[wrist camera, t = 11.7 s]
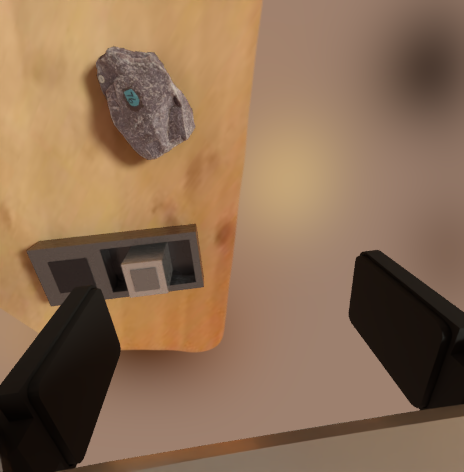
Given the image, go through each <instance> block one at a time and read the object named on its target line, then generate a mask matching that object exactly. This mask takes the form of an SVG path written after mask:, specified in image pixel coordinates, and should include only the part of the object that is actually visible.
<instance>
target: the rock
mask: <svg viewBox="0 0 464 472" xmlns="http://www.w3.org/2000/svg"><path fill="white" fill-rule="evenodd" d="M96 67H97V77H98V80H99V83H100V86H101V90H102V92H103V94H104V95H105V97H106V99H107V101H108V102H107V103H108V107H109V110H110V114H111V118H112V121H113V123H114V125H115V127H116V128H117V129H118V130H119V132H120V133H121V134H122V135H123V136H124V137H125V139H126V140H127V142H128V143H129V144H130V145H131V147H132V148H133V149H134V150H135V151H136V152H137V153H138V154H139V155H140V156H142V157H144V158H145V159H147V160H151V159H156V158H158V157H160V156H162V155H163V154H164V153H166V152H168V151H170V150H171V149H172V148H173V147H175V146H177V145H178V144H180V143H182V142H183V141H186V140H187V139H188V138H189V137H190V135H191V133H192V132H193V130H194V129H195V124H194V119H193V111H192V108H191V107H190V105H189V103H188V101H187V99H186V97H185V96H184V94H183V93H182V91H181V90H179V89H178V88H177V87H176V86H175V84H174V83H173V82H172V80H171V78H170V75H169V74H168V73H167V71H166V69H165V68H164V65H163V63H162V62H161V61H160V60H159V59H158V57H157V56H156V54H155V53H153V52H147V53H145V52H136V51H135V52H133V51H130V50H126V49H124V48H118V47H111V48H108V49H107V51H106V53H105V54H104V55H102V56H101V57H100V58H99V59H98V60H97V62H96Z"/></svg>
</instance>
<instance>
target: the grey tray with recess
mask: <svg viewBox="0 0 464 472" xmlns="http://www.w3.org/2000/svg"><path fill="white" fill-rule="evenodd" d="M162 242H168V247H169V252H170V258H171V263H172V268H173V271H172V276H171V282H170V287H169V291H176V290H184V289H192V288H200V287H204V275H203V268H202V261H201V255H200V248H199V241H198V234H197V227H196V224H190V225H181V226H172V227H163V228H154V229H145V230H136V231H127V232H118V233H109V234H100V235H91V236H82V237H73V238H64V239H55V240H46V241H39V242H38V243H36V244H35V245H34V246H32V247H31V248H29V249H28V250H27V254H28V256H29V258H30V260H31V263H32V265H33V267H34V269H35V271H36V274H37V276H38V278H39V280H40V283H41V285H42V287H43V289H44V292H45V294H46V296H47V298H48V300H49V303H50V305H51V306H58V305H61V304H62V303H63V302H64V300H65V299H66V298H67V297H68V295H69V294H70V293H71V291H72V290H73V289H74V288H75V287H79V286H88V285H94V286H95V287H96V288H100V289H101V291H102V293H103V296H104V299H113V298H121V297H129V296H130V295H129V291H128V288H127V284H126V281H125V277H124V274H123V270H122V267H121V264H122V262H123V260H124V259H125V257H126V255H127V253H128V251H129V250H130V248H131V246H135V245H144V244H153V243H162Z"/></svg>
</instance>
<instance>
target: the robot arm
mask: <svg viewBox="0 0 464 472" xmlns="http://www.w3.org/2000/svg"><path fill="white" fill-rule="evenodd" d="M349 318H350V321H351V323H352V324H353V326H354V327H355V328H356V330H357V331H358V332H359V334H360V335H361V337H362V338H363V339H364V341H365V342H366V343H367V345H368V346H369V347H370V349H371V350H372V351H373V353H374V354H375V355H376V357H377V358H378V359H379V361H380V362H381V363H382V365H383V366H384V368H385V369H386V370H387V372H388V373H389V375H390V376H391V377H392V378H393V380H394V381H395V383H396V384H397V385H398V387H399V388H400V389H401V391H402V392H403V394H404V395H405V396H406V398H407V399H408V400H409V402H410V403H411V404H412V405H413V406H414V407H416V408H419V409H420V410H419V411H414V412H407V413H401V414H394V415H388V416H382V417H376V418H369V419H363V420H356V421H350V422H344V423H337V424H332V425H325V426H319V427H313V428H307V429H301V430H295V431H288V432H282V433H277V434H270V435H264V436H258V437H252V438H246V439H240V440H234V441H228V442H222V443H216V444H210V445H204V446H198V447H192V448H186V449H180V450H175V451H169V452H163V453H157V454H151V455H145V456H139V457H134V458H128V459H122V460H116V461H110V462H104V463H99V464H94V465H88V466H83V467H78V468H76V465H77V464H78V463H81V461H82V460H83V459H84V456H85V454H86V451H87V448H88V445H89V442H90V439H91V437H92V434H93V431H94V428H95V425H96V422H97V419H98V416H99V413H100V410H101V408H102V405H103V402H104V399H105V396H106V393H107V391H108V387H109V385H110V382H111V379H112V376H113V373H114V370H115V368H116V365H117V362H118V359H119V356H120V350H121V348H120V343H119V340H118V337H117V334H116V331H115V328H114V325H113V322H112V319H111V316H110V314H109V311H108V308H107V305H106V302H105V299H104V296H103V293H102V291H101V289H100V288H96V287H95V286H94V285H88V286H79V287H75V288H74V289H73V290H72V291H71V293H70V294H69V295H68V297H67V298H66V299H65V300H64V302H63V303H62V304H61V306H60V307H59V308H58V310H57V311H56V312H55V314H54V315H53V316H52V318H51V319H50V320H49V322H48V323H47V324H46V325H45V327H44V328H43V329H42V331H41V332H40V333H39V335H38V336H37V337H36V339H35V340H34V341H33V343H32V344H31V345H30V347H29V348H28V349H27V350H26V352H25V353H24V355H23V356H22V357H21V358H20V360H19V361H18V362H17V364H16V365H15V366H14V368H13V369H12V370H11V372H10V373H9V374H8V376H7V377H6V378H5V379H4V381H3V382H2V383H1V385H0V472H464V312H463V311H461V310H460V309H459V308H457V307H456V306H455V305H453V304H452V303H450V302H449V301H448V300H446V299H445V298H444V297H442V296H441V295H440V294H438V293H437V292H435V291H434V290H433V289H431V288H430V287H429V286H427V285H426V284H424V283H423V282H422V281H420V280H419V279H418V278H416V277H415V276H414V275H412V274H411V273H410V272H408V271H407V270H405V269H404V268H403V267H401V266H400V265H399V264H397V263H396V262H395V261H393V260H392V259H391V258H389V257H388V256H386V255H385V254H384V253H382V252H381V251H379V250H373V251H365V252H362V253H361V254H360V256H358V257H357V258H356V261H355V268H354V276H353V284H352V291H351V299H350V308H349Z"/></svg>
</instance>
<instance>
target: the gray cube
mask: <svg viewBox="0 0 464 472" xmlns="http://www.w3.org/2000/svg"><path fill="white" fill-rule="evenodd" d="M121 267H122V270H123V274H124V277H125V281H126V284H127V288H128V291H129V295H130V297H139V296H147V295H155V294H164V293H168V292H169V287H170V282H171V276H172V271H173V268H172V263H171V258H170V252H169V247H168V242H162V243H153V244H144V245H135V246H131V248H130V250H129V251H128V253H127V255H126V257H125V259H124V260H123V262H122V264H121Z"/></svg>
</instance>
